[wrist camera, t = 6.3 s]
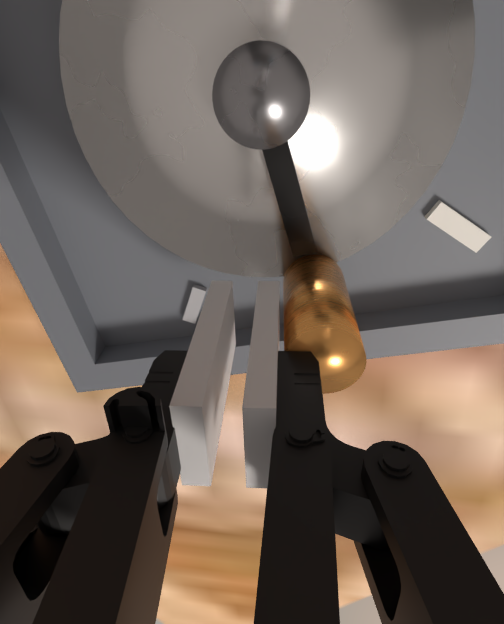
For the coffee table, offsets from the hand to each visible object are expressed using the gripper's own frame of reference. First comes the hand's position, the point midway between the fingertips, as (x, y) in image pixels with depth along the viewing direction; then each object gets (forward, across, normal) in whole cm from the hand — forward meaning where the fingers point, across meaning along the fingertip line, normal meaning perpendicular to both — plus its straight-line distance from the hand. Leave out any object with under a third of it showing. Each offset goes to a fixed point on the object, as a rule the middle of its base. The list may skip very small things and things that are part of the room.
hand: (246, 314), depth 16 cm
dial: (+3, +1, +7) cm, 8 cm away
